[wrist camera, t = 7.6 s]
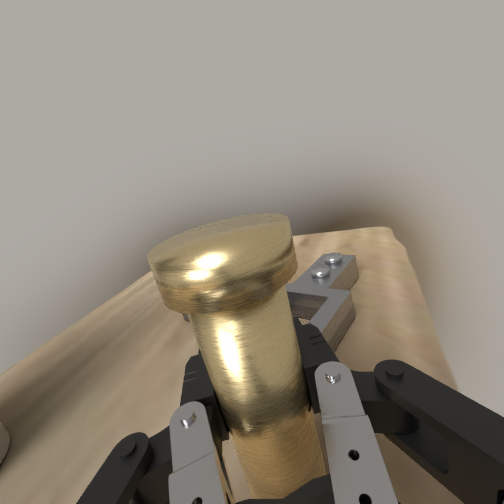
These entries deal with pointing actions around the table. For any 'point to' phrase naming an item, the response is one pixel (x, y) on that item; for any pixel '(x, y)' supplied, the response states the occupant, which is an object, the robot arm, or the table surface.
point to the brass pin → (247, 341)
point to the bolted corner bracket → (325, 296)
